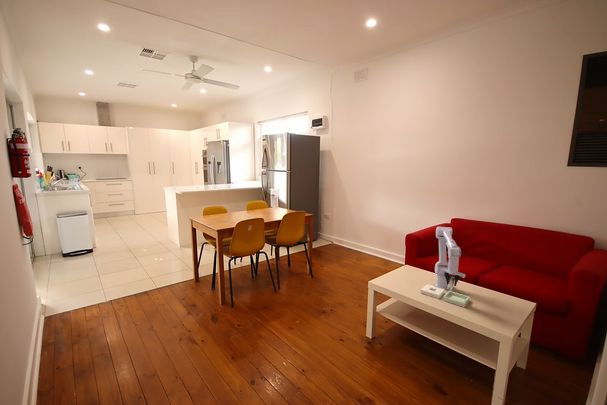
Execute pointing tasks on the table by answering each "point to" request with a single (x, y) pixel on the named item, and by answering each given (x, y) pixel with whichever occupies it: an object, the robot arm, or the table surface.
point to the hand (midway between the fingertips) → (451, 284)
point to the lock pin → (451, 283)
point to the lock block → (432, 291)
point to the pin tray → (456, 298)
